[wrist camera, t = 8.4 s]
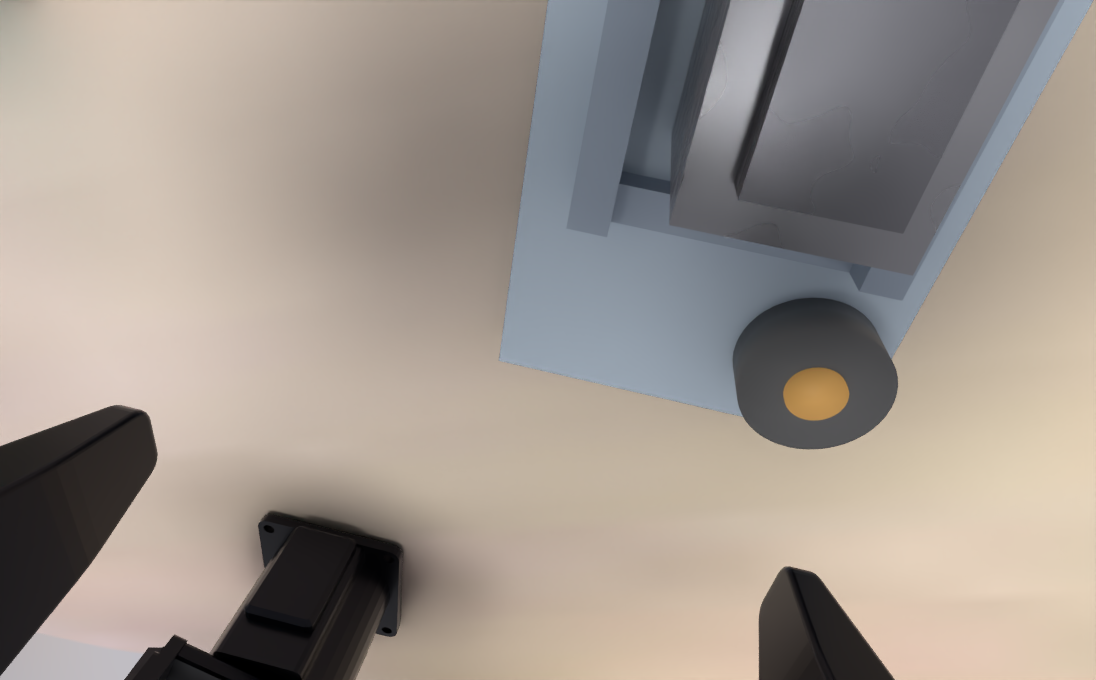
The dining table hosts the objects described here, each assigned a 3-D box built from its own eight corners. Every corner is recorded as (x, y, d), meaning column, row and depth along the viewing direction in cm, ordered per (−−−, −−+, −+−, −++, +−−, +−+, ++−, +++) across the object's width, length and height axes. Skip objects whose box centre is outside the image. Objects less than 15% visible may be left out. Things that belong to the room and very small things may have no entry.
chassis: (837, 416, 20) (861, 487, 18) (507, 340, 21) (482, 398, 18) (1163, -190, 12) (1302, -228, 9) (596, -284, 13) (574, -344, 10)
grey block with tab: (835, 165, 15) (929, 299, 10) (671, 132, 15) (668, 244, 10) (936, -81, 12) (1153, -99, 7) (735, -116, 13) (782, -163, 7)
